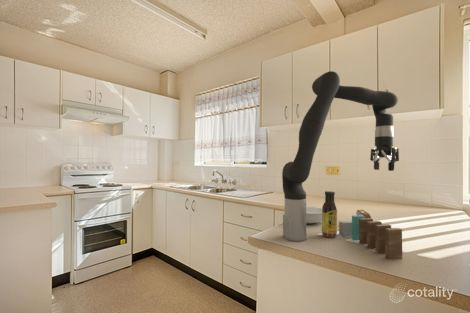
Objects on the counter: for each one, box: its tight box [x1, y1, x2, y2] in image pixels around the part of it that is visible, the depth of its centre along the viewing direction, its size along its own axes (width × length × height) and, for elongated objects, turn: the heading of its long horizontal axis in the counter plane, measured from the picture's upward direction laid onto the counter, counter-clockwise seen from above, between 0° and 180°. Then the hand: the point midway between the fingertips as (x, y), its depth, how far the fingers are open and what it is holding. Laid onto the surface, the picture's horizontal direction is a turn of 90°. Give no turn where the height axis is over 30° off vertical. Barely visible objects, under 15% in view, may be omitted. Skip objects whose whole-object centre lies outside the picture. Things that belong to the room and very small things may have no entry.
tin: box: [355, 209, 372, 218], centre depth 113 cm, size 15×3×8 cm, turn 168°
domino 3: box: [366, 220, 382, 250], centre depth 88 cm, size 2×5×10 cm, turn 97°
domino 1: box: [351, 215, 365, 241], centre depth 97 cm, size 2×5×10 cm, turn 97°
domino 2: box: [358, 217, 374, 245], centre depth 92 cm, size 2×5×10 cm, turn 97°
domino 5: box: [384, 227, 403, 260], centre depth 79 cm, size 2×5×10 cm, turn 97°
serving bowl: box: [306, 205, 322, 225], centre depth 126 cm, size 21×21×7 cm
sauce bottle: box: [321, 190, 338, 238], centre depth 102 cm, size 6×6×20 cm
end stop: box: [338, 220, 352, 237], centre depth 103 cm, size 3×9×6 cm, turn 97°
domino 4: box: [375, 223, 392, 255], centre depth 83 cm, size 2×5×10 cm, turn 97°
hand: (383, 170), depth 108 cm, fingers open, 8 cm apart
